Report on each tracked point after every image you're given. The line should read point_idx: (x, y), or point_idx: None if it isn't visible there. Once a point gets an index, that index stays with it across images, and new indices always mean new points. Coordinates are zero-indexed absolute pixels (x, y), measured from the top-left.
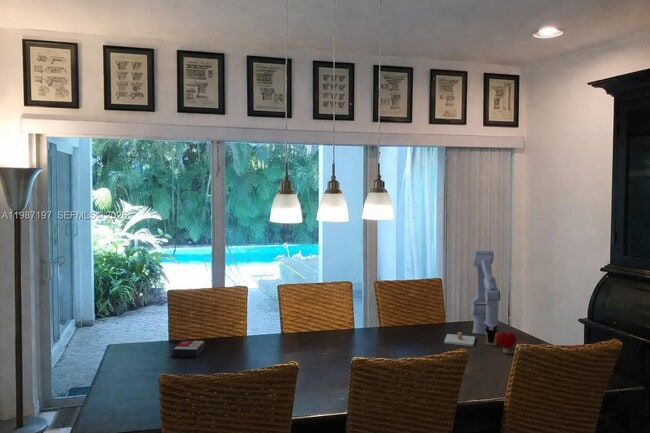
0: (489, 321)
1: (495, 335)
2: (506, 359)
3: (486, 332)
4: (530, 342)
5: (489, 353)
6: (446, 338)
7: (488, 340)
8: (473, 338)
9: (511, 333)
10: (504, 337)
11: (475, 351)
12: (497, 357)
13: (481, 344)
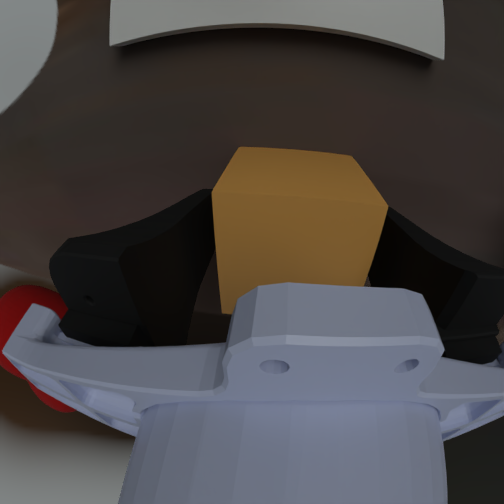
0: (129, 467)
1: (222, 303)
2: (29, 271)
3: (349, 205)
4: None
5: (39, 196)
6: None
7: (190, 196)
8: (366, 22)
9: (42, 400)
10: None
11: (26, 107)
12: (22, 237)
13: (223, 105)
